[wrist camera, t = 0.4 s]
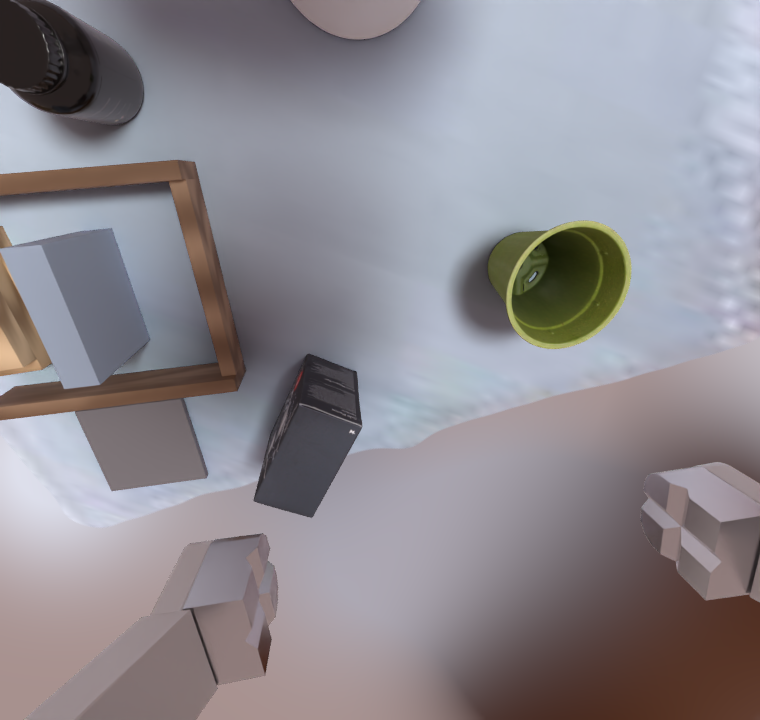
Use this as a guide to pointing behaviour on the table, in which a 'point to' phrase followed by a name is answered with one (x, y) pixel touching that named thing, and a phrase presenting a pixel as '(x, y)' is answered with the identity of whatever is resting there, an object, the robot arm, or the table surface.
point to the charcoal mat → (144, 443)
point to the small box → (310, 437)
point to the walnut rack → (208, 282)
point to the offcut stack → (17, 327)
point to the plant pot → (561, 281)
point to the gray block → (79, 303)
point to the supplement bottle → (66, 64)
